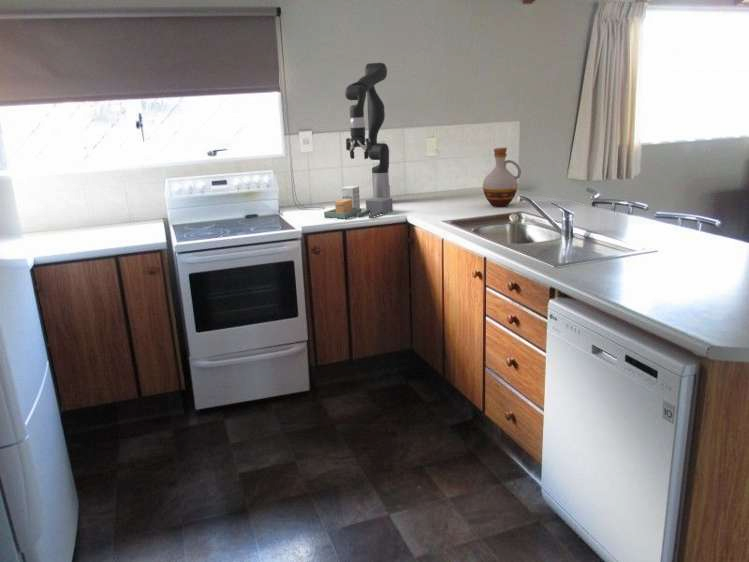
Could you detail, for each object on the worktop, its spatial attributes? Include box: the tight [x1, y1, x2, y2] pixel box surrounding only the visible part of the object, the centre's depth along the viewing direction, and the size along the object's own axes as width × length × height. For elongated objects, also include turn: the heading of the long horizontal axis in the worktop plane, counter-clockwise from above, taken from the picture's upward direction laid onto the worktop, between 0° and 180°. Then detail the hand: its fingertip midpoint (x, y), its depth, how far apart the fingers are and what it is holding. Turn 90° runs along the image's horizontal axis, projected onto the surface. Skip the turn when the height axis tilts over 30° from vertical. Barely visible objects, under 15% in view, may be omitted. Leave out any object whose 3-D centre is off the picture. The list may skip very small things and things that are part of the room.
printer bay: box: [355, 197, 394, 219], centre depth 328 cm, size 20×10×7 cm, turn 146°
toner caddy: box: [334, 199, 353, 213], centre depth 328 cm, size 9×5×7 cm, turn 146°
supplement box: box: [341, 185, 361, 208], centre depth 342 cm, size 7×7×13 cm
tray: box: [323, 207, 363, 220], centre depth 329 cm, size 15×13×3 cm
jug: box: [482, 147, 522, 208], centre depth 330 cm, size 20×18×30 cm
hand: (359, 158), depth 327 cm, fingers open, 8 cm apart
